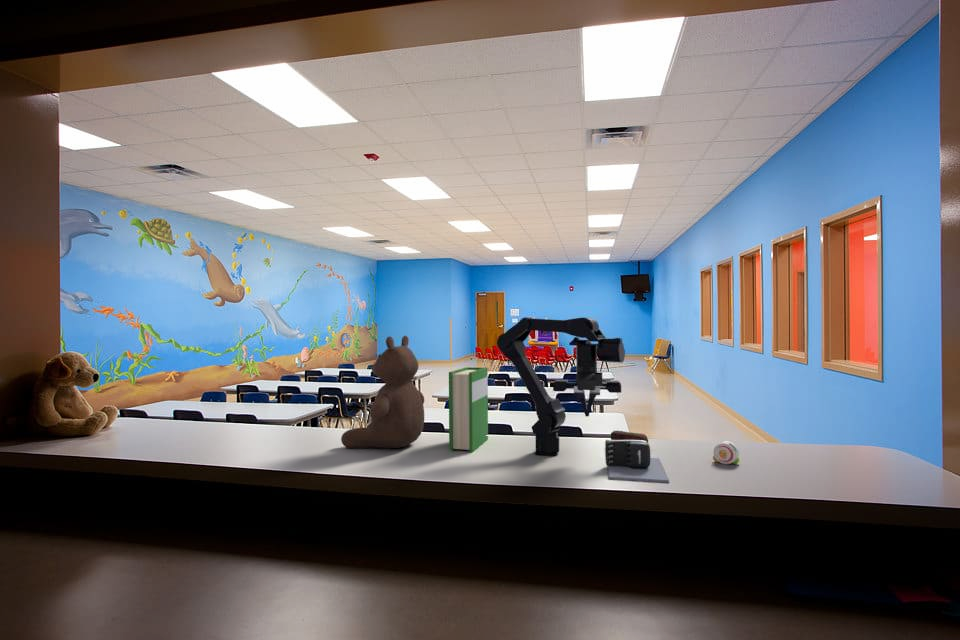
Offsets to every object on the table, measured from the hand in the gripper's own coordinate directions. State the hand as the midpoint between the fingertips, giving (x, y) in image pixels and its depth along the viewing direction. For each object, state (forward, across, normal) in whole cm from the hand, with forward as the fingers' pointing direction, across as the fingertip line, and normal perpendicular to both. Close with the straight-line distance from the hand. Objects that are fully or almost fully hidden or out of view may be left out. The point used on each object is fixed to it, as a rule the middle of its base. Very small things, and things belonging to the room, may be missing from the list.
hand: (587, 416), depth 142 cm
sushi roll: (+12, +37, +3) cm, 39 cm away
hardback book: (+12, -37, +9) cm, 40 cm away
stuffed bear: (+12, -63, +4) cm, 65 cm away
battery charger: (+8, +5, -9) cm, 13 cm away
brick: (+12, +12, +15) cm, 23 cm away
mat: (+12, +12, -8) cm, 19 cm away
